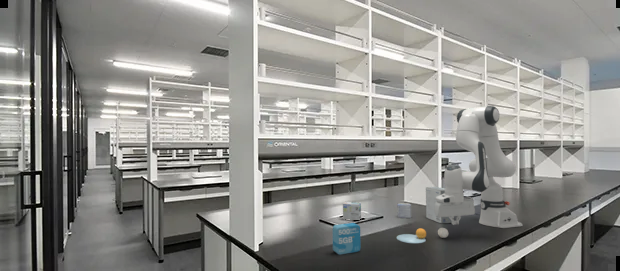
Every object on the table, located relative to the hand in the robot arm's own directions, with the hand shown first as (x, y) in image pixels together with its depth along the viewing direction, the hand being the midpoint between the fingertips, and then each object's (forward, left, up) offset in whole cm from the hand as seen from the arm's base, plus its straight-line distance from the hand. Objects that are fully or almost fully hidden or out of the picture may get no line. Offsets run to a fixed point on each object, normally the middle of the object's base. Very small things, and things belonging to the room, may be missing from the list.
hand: (455, 224), depth 158 cm
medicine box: (+10, -43, -7) cm, 44 cm away
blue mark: (+24, 0, -6) cm, 25 cm away
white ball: (+7, 0, -4) cm, 8 cm away
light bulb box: (+45, -41, -7) cm, 61 cm away
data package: (+60, +14, -7) cm, 62 cm away
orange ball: (+18, 0, -4) cm, 19 cm away
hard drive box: (-8, -33, -7) cm, 34 cm away
